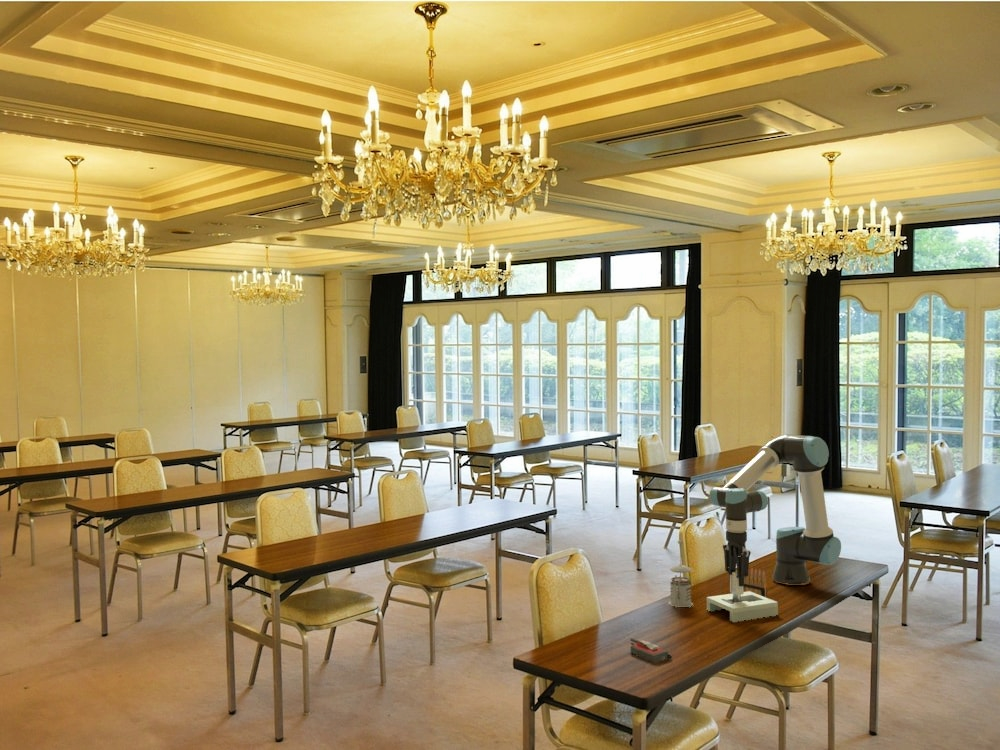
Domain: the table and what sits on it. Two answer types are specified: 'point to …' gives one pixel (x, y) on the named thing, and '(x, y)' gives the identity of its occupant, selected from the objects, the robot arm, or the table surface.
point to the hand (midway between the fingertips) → (736, 593)
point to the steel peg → (735, 597)
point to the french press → (680, 586)
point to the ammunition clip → (755, 583)
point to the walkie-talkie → (649, 651)
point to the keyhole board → (744, 606)
